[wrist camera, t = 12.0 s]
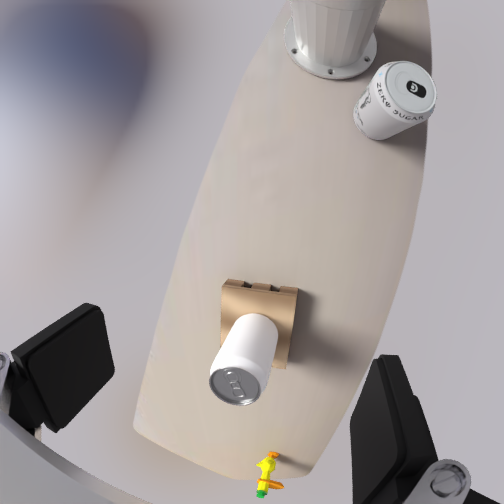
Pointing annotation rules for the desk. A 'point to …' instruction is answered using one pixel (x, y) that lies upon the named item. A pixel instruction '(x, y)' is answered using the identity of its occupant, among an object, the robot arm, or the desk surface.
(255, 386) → the can
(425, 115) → the energy drink can
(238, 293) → the dock
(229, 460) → the desk surface
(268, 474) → the toy figure
